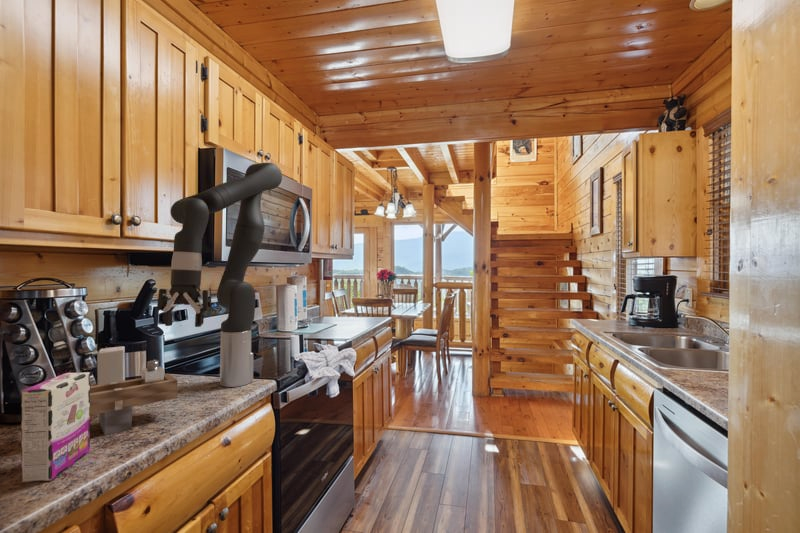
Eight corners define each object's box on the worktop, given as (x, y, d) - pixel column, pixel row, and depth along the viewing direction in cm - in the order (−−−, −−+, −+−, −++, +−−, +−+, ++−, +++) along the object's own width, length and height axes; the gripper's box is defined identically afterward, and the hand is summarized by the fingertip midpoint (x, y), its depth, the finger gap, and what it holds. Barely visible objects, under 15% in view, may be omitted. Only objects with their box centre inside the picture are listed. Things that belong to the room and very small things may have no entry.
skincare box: (124, 404, 105) (124, 350, 105) (95, 409, 101) (96, 352, 101) (125, 396, 112) (126, 344, 112) (99, 399, 108) (100, 347, 108)
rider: (159, 385, 99) (160, 358, 99) (163, 389, 96) (164, 361, 96) (141, 389, 96) (141, 361, 96) (144, 393, 93) (145, 364, 93)
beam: (167, 408, 103) (168, 372, 103) (177, 418, 96) (177, 380, 96) (45, 434, 86) (46, 392, 86) (47, 448, 79) (48, 402, 79)
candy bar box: (62, 453, 78) (64, 372, 78) (90, 451, 78) (92, 371, 79) (17, 484, 67) (19, 389, 67) (50, 482, 67) (52, 388, 68)
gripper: (217, 270, 113) (215, 325, 112) (170, 268, 113) (167, 324, 112) (203, 269, 105) (200, 328, 104) (153, 267, 106) (149, 326, 105)
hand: (183, 326), depth 108 cm, fingers open, 8 cm apart
